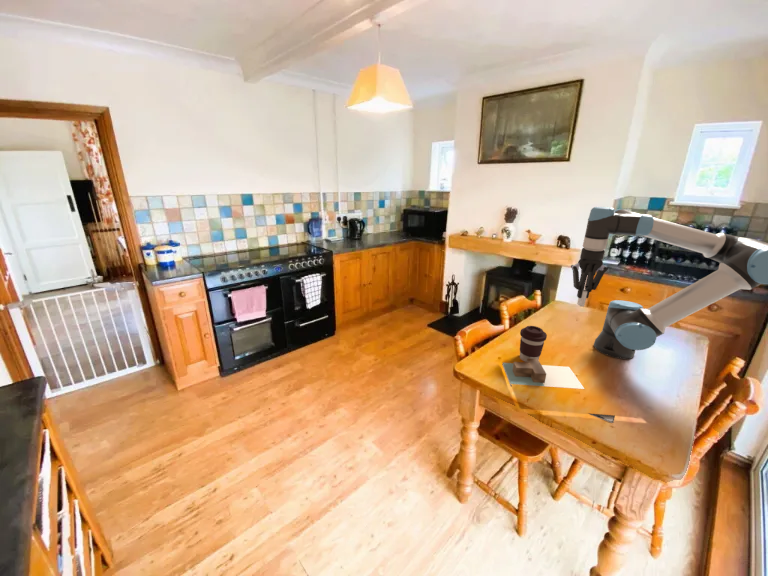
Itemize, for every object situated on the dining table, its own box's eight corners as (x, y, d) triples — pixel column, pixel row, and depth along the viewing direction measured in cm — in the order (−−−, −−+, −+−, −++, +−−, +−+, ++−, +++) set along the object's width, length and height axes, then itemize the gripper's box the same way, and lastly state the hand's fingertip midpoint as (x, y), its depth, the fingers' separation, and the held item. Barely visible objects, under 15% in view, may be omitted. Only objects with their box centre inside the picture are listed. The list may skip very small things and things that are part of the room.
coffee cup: (544, 368, 132) (550, 336, 127) (518, 365, 134) (523, 334, 128) (538, 355, 141) (544, 324, 136) (514, 353, 143) (519, 322, 138)
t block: (536, 367, 131) (537, 358, 129) (544, 382, 121) (546, 373, 120) (510, 365, 132) (511, 357, 130) (517, 381, 123) (518, 372, 121)
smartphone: (618, 398, 114) (613, 422, 104) (617, 400, 115) (613, 424, 104) (593, 390, 119) (587, 412, 108) (593, 391, 119) (586, 414, 108)
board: (568, 369, 131) (569, 366, 131) (584, 391, 118) (584, 388, 118) (502, 365, 134) (502, 362, 134) (510, 386, 121) (511, 383, 121)
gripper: (606, 246, 126) (593, 302, 134) (571, 246, 127) (560, 300, 136) (617, 251, 119) (602, 309, 127) (579, 250, 120) (567, 308, 129)
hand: (580, 305), depth 131 cm, fingers closed
